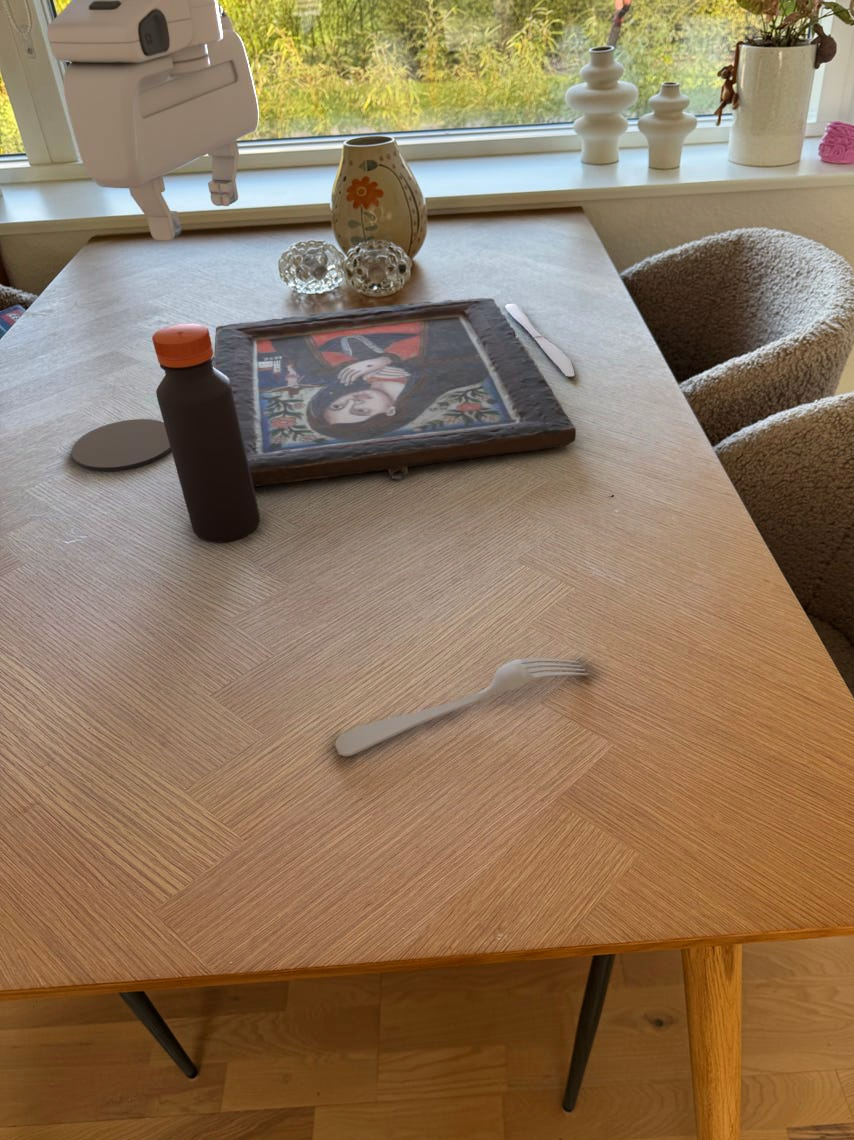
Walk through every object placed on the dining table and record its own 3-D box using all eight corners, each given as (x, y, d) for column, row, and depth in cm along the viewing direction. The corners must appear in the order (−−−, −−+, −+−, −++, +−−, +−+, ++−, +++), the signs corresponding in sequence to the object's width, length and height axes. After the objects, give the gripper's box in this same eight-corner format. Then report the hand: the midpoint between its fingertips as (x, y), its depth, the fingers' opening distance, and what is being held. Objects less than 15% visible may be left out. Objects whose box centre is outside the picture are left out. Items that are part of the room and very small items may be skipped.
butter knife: (522, 301, 141) (502, 303, 140) (584, 374, 121) (562, 377, 120) (522, 305, 141) (502, 306, 141) (583, 379, 121) (561, 381, 121)
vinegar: (274, 523, 97) (234, 330, 84) (218, 552, 93) (167, 354, 81) (235, 501, 101) (191, 313, 88) (180, 528, 97) (126, 335, 84)
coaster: (89, 482, 105) (87, 478, 105) (60, 441, 113) (59, 438, 113) (193, 450, 110) (192, 446, 110) (159, 413, 118) (157, 410, 118)
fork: (339, 759, 74) (330, 735, 72) (575, 658, 79) (572, 633, 77) (350, 783, 72) (341, 759, 70) (592, 679, 77) (589, 653, 75)
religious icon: (211, 506, 100) (205, 480, 98) (214, 345, 134) (209, 324, 132) (581, 455, 105) (581, 430, 103) (493, 313, 140) (492, 292, 138)
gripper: (189, -2, 76) (224, 184, 85) (29, 35, 61) (91, 257, 70) (261, -3, 75) (288, 187, 83) (115, 35, 60) (167, 262, 68)
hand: (197, 220), depth 76 cm, fingers open, 8 cm apart
